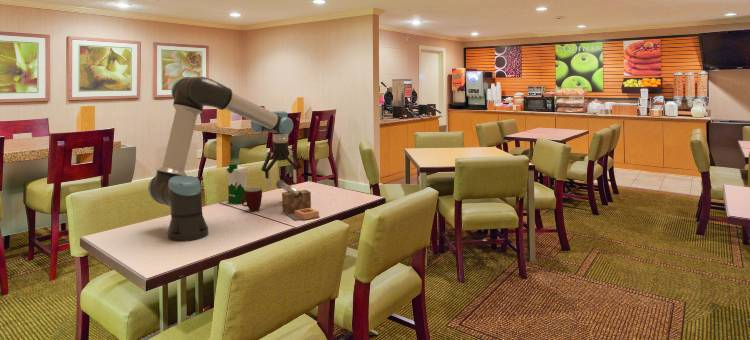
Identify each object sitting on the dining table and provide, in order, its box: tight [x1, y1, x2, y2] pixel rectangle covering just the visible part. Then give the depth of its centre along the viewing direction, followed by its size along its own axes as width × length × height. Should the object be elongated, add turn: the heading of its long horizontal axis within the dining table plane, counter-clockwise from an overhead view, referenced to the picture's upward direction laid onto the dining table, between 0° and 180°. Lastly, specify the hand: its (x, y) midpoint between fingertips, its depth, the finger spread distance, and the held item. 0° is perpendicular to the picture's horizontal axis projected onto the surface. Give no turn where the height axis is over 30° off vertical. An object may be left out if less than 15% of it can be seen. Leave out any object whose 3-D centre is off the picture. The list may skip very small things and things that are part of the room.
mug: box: [241, 187, 263, 212], centre depth 226 cm, size 11×8×10 cm
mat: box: [286, 213, 321, 222], centre depth 217 cm, size 12×11×1 cm
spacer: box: [295, 207, 320, 221], centre depth 215 cm, size 8×2×8 cm
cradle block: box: [281, 189, 312, 216], centre depth 223 cm, size 12×6×10 cm, turn 118°
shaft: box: [275, 179, 300, 197], centre depth 233 cm, size 26×5×5 cm, turn 29°
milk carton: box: [225, 163, 248, 205], centre depth 241 cm, size 9×9×20 cm
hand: (282, 183), depth 241 cm, fingers open, 13 cm apart
